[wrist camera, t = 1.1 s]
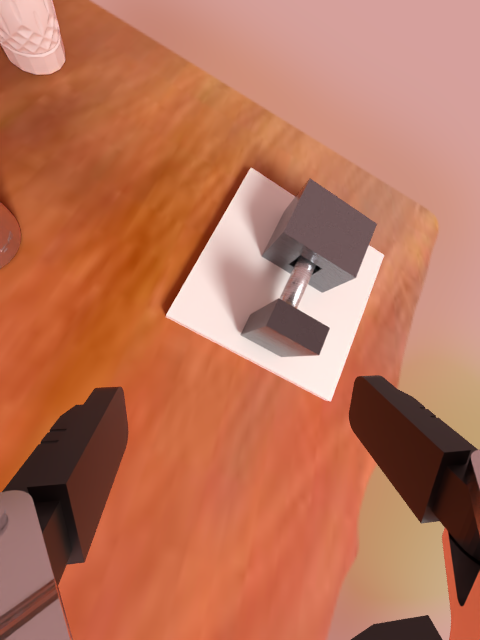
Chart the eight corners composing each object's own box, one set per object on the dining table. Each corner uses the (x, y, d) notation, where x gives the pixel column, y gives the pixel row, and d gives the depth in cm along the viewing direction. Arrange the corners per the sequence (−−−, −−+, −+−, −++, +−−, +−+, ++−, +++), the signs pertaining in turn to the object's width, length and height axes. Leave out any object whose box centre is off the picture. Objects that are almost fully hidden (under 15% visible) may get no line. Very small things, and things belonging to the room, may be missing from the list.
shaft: (240, 335, 34) (265, 325, 25) (300, 210, 39) (339, 167, 30) (281, 357, 35) (319, 355, 26) (334, 233, 40) (381, 197, 31)
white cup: (76, 39, 36) (44, -78, 26) (64, 88, 35) (25, -16, 25) (6, 15, 34) (-55, -121, 24) (-10, 66, 33) (-82, -56, 23)
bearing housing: (261, 256, 37) (283, 232, 30) (284, 210, 39) (309, 178, 32) (322, 292, 38) (355, 277, 31) (341, 247, 40) (376, 223, 33)
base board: (165, 316, 34) (166, 315, 32) (247, 174, 40) (250, 167, 38) (324, 400, 38) (330, 401, 36) (377, 258, 44) (384, 255, 42)
